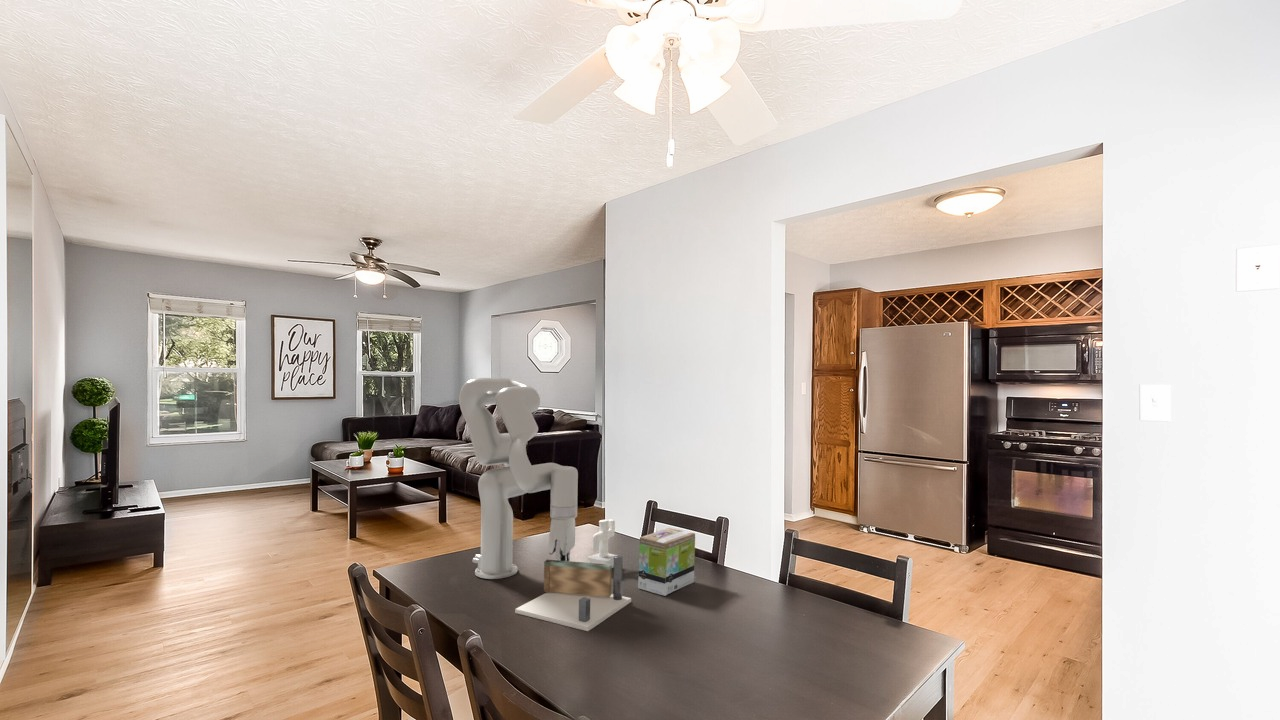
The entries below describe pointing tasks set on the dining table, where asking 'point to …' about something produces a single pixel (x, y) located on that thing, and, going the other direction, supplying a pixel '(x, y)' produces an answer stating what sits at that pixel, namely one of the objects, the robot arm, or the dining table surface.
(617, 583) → the hinge post
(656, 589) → the tea box
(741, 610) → the dining table surface
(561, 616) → the board
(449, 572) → the dining table surface
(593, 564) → the gate
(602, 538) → the figurine
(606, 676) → the dining table surface
